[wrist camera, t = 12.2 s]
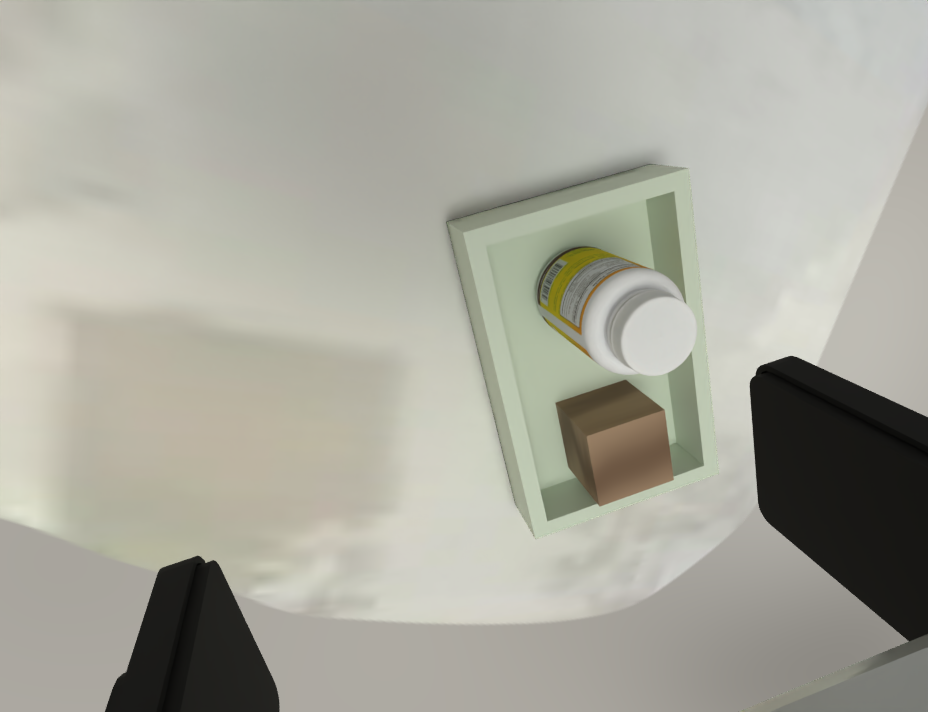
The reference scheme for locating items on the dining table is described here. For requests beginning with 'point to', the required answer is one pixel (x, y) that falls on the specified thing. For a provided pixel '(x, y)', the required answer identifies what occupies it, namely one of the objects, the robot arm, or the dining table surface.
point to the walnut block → (615, 441)
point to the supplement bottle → (616, 311)
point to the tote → (555, 358)
